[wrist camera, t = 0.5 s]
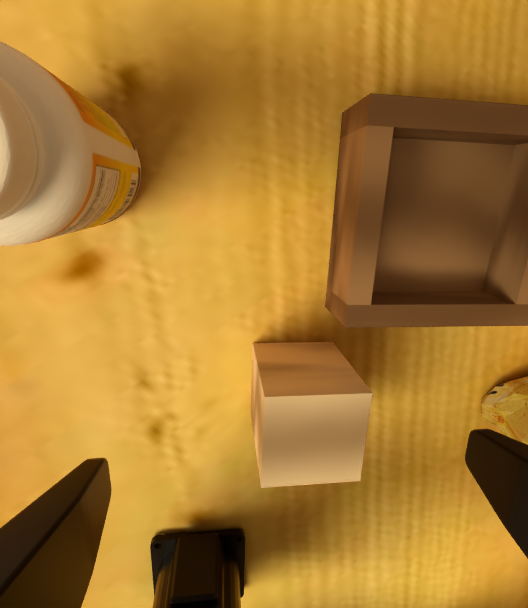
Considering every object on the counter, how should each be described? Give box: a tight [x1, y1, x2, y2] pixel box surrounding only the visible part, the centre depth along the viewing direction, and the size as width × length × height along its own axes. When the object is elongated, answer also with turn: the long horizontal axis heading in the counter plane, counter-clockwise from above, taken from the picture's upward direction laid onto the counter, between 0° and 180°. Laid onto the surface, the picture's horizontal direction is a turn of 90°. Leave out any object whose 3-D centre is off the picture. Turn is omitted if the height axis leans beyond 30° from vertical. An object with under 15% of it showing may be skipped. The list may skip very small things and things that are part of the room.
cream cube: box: [251, 342, 373, 488], centre depth 19 cm, size 5×5×6 cm
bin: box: [325, 94, 528, 328], centre depth 18 cm, size 10×10×4 cm
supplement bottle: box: [0, 42, 141, 246], centre depth 12 cm, size 6×6×10 cm
